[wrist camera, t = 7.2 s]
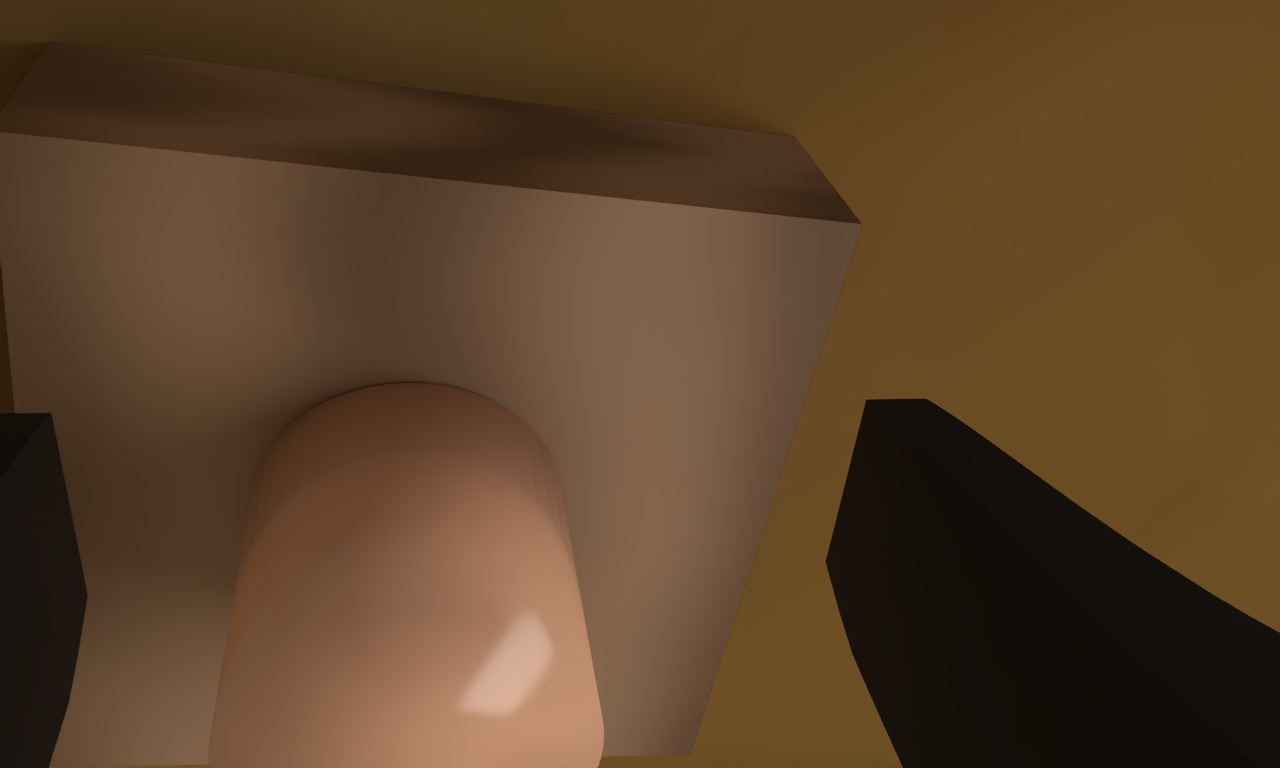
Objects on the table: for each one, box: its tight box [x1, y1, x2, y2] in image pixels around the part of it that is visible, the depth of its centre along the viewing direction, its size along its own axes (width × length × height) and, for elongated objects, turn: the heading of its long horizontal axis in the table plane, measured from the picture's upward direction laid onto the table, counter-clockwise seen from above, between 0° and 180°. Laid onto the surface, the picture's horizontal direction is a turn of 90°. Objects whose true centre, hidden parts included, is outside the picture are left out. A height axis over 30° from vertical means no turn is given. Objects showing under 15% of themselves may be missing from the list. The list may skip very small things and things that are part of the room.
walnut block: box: [0, 42, 862, 768], centre depth 21 cm, size 12×12×4 cm
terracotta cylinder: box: [208, 383, 604, 768], centre depth 17 cm, size 5×5×5 cm
